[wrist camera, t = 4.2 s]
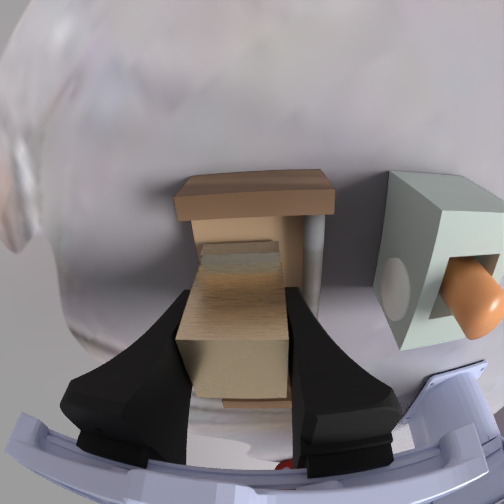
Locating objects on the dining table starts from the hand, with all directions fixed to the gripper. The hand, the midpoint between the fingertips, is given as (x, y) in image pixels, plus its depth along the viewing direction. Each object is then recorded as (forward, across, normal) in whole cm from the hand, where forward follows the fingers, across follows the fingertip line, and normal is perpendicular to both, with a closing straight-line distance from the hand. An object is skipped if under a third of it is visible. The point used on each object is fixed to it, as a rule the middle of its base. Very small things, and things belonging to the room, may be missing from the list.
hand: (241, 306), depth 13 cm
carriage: (+2, 0, 0) cm, 2 cm away
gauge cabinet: (+3, -10, -2) cm, 10 cm away
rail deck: (+3, -1, +2) cm, 4 cm away
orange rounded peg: (-1, -10, -2) cm, 10 cm away
